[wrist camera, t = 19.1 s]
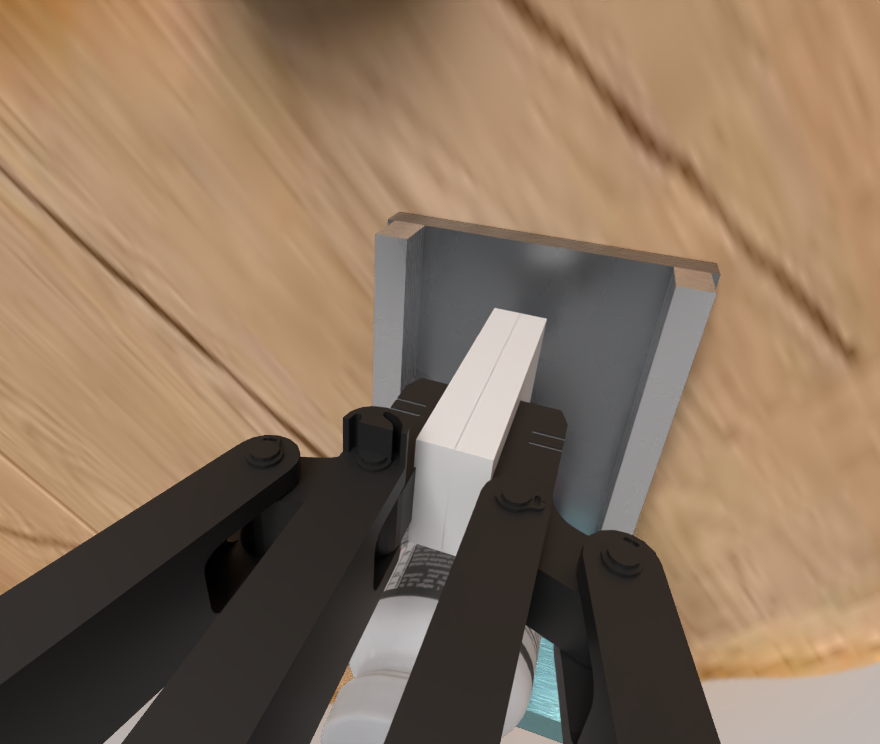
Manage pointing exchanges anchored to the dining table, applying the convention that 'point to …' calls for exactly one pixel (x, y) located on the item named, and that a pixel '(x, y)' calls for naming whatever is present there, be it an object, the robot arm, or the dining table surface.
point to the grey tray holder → (551, 355)
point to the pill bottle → (406, 652)
